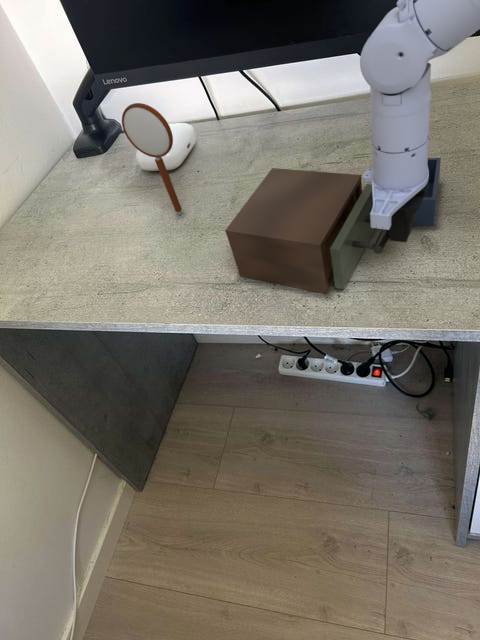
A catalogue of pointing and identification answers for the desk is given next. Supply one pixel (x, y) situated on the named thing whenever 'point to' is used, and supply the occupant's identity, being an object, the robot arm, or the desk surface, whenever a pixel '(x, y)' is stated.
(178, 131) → the earbud case
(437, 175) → the open box
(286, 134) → the desk surface
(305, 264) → the cabinet
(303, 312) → the desk surface
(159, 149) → the magnifying glass
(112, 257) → the desk surface
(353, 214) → the drawer
